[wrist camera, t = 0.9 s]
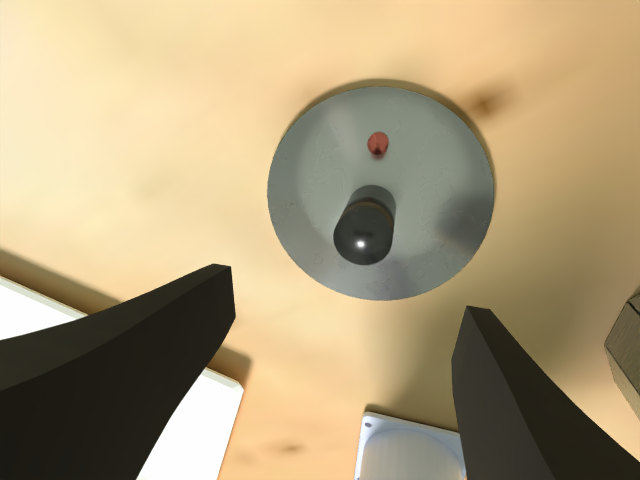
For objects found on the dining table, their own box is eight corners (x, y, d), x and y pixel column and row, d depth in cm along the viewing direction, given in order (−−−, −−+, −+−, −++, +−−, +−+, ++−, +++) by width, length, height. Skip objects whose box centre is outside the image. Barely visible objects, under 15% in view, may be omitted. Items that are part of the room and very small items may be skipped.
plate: (16, 419, 42) (-1, 435, 40) (-25, 245, 29) (-53, 257, 28) (209, 512, 40) (199, 532, 38) (254, 368, 27) (243, 389, 26)
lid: (462, 309, 21) (475, 367, 17) (274, 278, 23) (244, 322, 19) (521, 92, 15) (561, 99, 11) (268, 80, 18) (224, 83, 14)
